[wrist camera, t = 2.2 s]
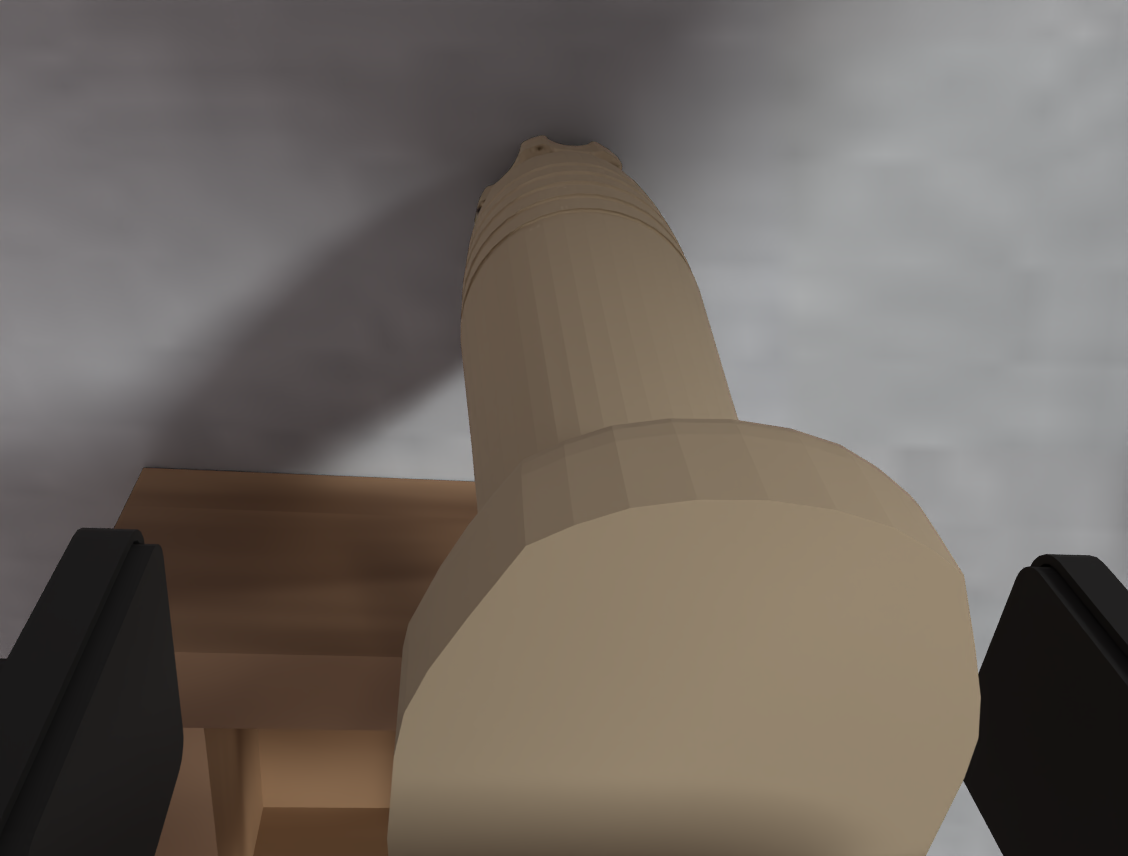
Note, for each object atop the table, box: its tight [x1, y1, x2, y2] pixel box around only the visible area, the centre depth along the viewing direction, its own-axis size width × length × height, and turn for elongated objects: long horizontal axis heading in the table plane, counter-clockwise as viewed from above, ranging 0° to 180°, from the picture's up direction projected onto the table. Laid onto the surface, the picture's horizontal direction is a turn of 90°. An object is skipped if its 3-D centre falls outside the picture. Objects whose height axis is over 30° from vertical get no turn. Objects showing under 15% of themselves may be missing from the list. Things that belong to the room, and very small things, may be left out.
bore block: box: [114, 468, 478, 856], centre depth 25 cm, size 12×12×6 cm
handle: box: [387, 135, 981, 856], centre depth 15 cm, size 5×6×15 cm
